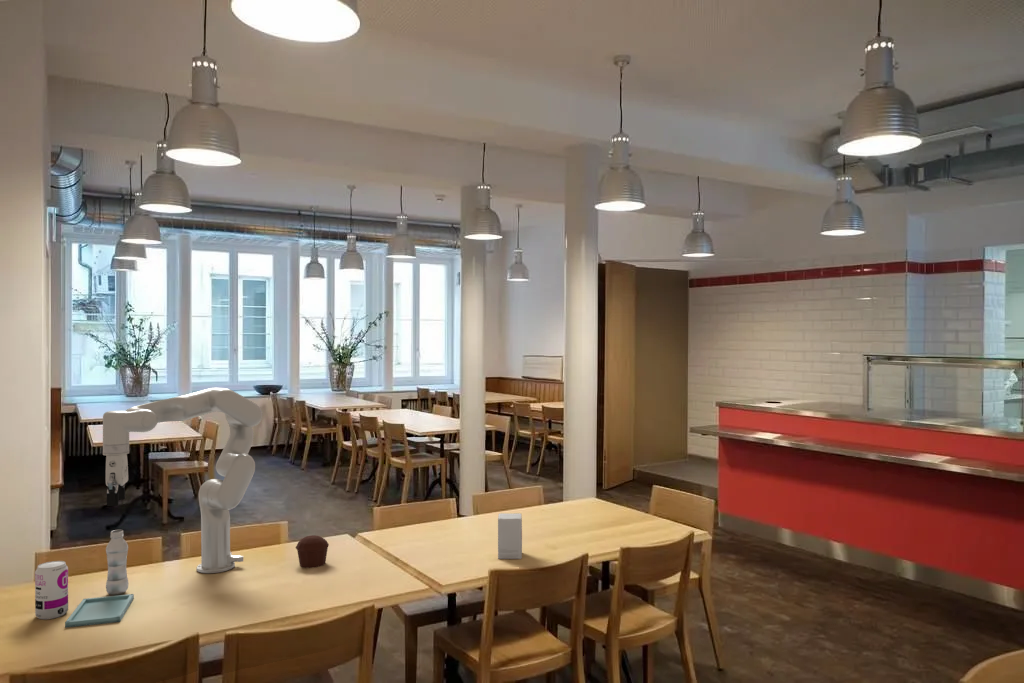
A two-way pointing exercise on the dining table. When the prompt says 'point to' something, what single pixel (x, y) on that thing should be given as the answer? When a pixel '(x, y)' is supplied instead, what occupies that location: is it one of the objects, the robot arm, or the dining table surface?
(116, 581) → the plastic bottle
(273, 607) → the dining table surface
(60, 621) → the dining table surface
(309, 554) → the muffin
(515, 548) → the supplement box
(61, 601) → the supplement can
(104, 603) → the tray
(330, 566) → the dining table surface
